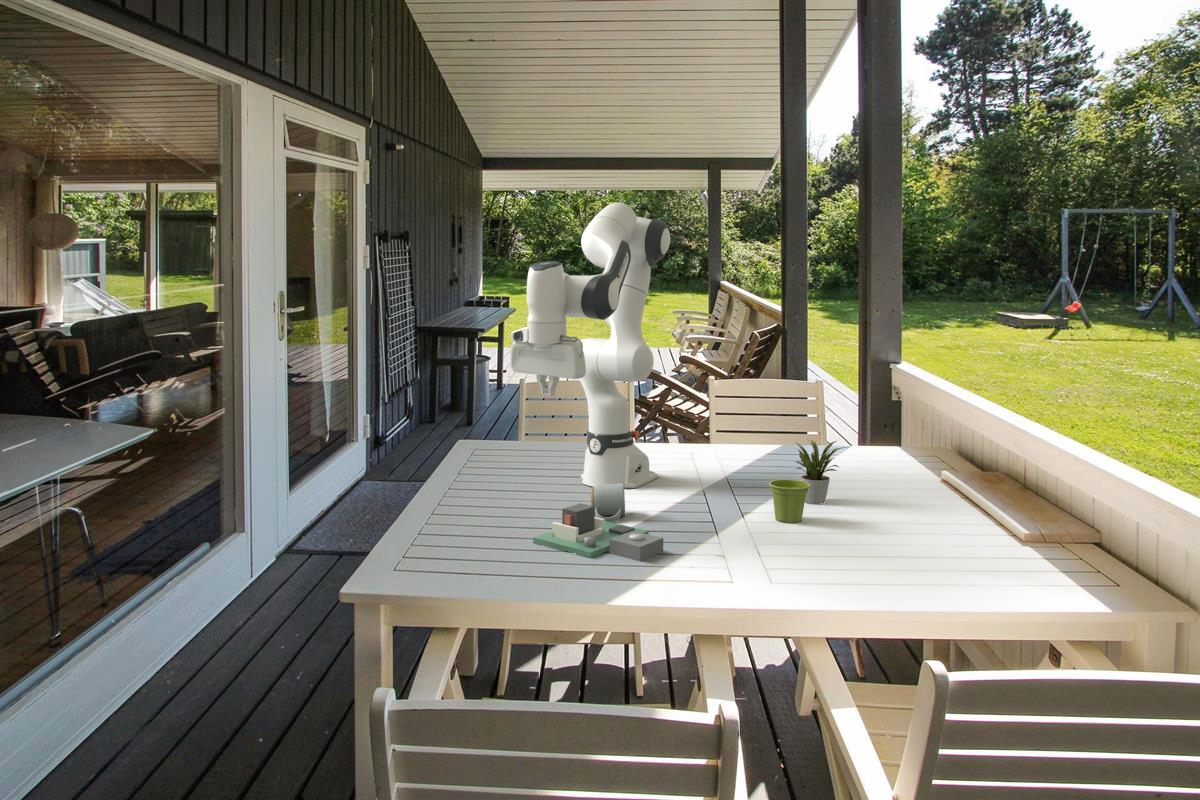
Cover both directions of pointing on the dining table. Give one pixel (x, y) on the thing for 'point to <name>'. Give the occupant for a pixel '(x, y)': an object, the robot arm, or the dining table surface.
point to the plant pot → (789, 499)
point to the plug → (579, 517)
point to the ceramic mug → (608, 501)
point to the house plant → (816, 472)
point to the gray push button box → (636, 545)
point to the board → (584, 537)
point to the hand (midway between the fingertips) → (548, 395)
